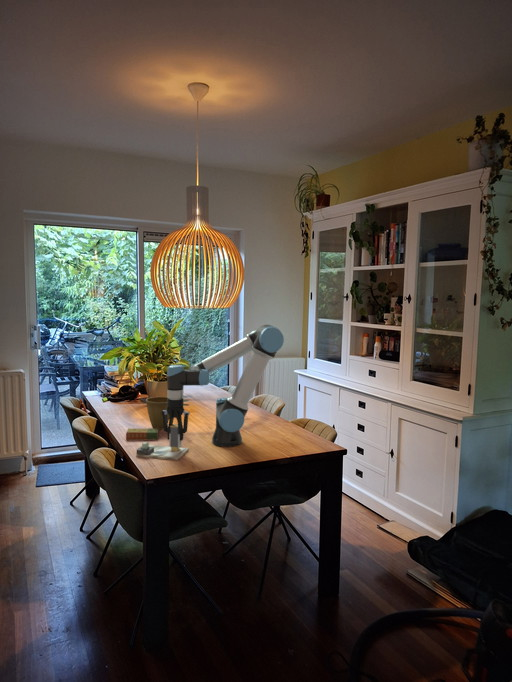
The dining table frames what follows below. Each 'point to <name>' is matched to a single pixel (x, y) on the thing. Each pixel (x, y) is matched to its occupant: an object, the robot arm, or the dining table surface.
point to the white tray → (161, 452)
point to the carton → (142, 434)
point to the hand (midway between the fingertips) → (175, 446)
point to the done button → (145, 446)
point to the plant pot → (157, 411)
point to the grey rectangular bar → (174, 437)
